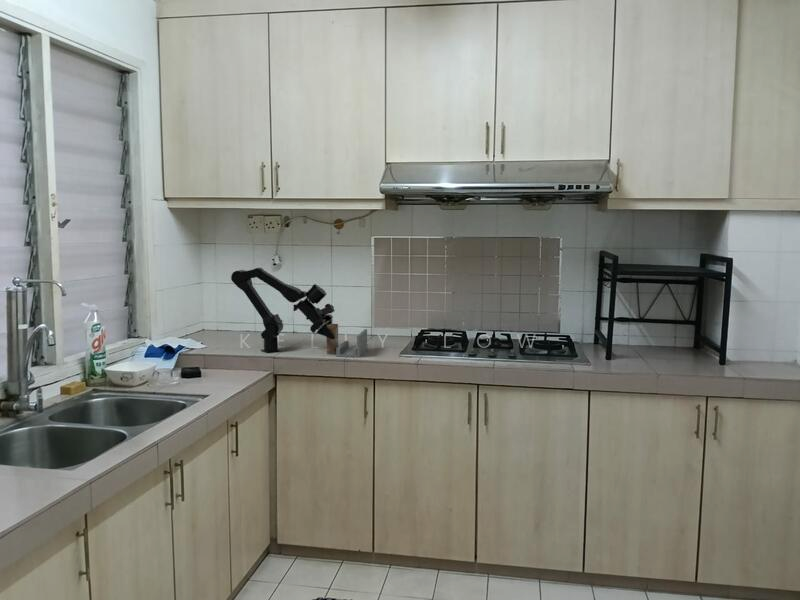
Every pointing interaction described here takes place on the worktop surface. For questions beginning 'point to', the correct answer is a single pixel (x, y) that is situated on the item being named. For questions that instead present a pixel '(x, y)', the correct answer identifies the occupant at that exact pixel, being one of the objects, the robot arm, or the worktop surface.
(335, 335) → the brown wooden block
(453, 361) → the worktop surface
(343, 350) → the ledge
